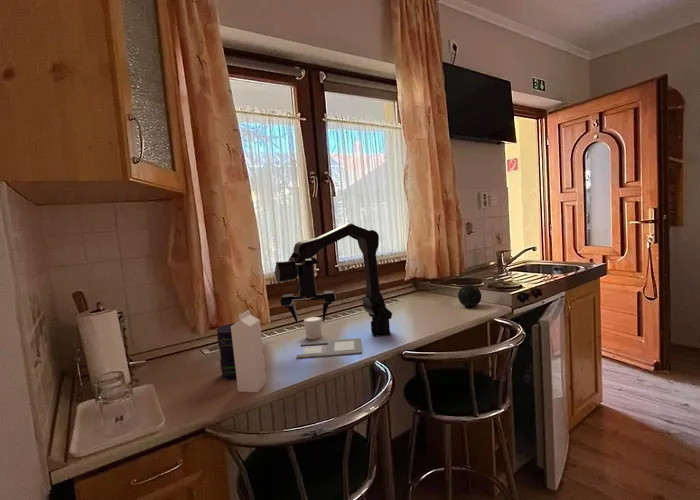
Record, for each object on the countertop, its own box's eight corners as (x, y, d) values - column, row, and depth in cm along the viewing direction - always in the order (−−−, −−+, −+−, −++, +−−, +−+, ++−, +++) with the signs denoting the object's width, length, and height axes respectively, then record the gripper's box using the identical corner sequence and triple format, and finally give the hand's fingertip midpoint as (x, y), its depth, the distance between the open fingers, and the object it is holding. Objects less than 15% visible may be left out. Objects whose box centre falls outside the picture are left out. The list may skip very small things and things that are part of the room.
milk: (237, 392, 116) (228, 315, 113) (248, 382, 122) (239, 309, 119) (257, 392, 114) (248, 314, 112) (267, 383, 120) (258, 308, 118)
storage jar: (223, 383, 122) (218, 334, 121) (219, 372, 131) (214, 326, 130) (257, 375, 126) (252, 327, 125) (251, 365, 135) (246, 320, 134)
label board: (360, 339, 153) (360, 337, 152) (362, 354, 138) (362, 351, 138) (301, 344, 153) (301, 342, 153) (296, 359, 138) (296, 357, 138)
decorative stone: (454, 306, 188) (453, 284, 187) (473, 303, 191) (472, 281, 190) (466, 311, 179) (465, 288, 178) (486, 307, 182) (485, 285, 181)
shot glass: (325, 333, 163) (324, 316, 162) (318, 339, 156) (317, 321, 155) (309, 333, 165) (308, 316, 164) (302, 339, 158) (300, 321, 158)
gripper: (334, 272, 150) (337, 314, 152) (283, 276, 151) (287, 318, 152) (333, 277, 139) (337, 322, 141) (278, 281, 139) (282, 326, 141)
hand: (310, 322), depth 144 cm, fingers open, 9 cm apart
